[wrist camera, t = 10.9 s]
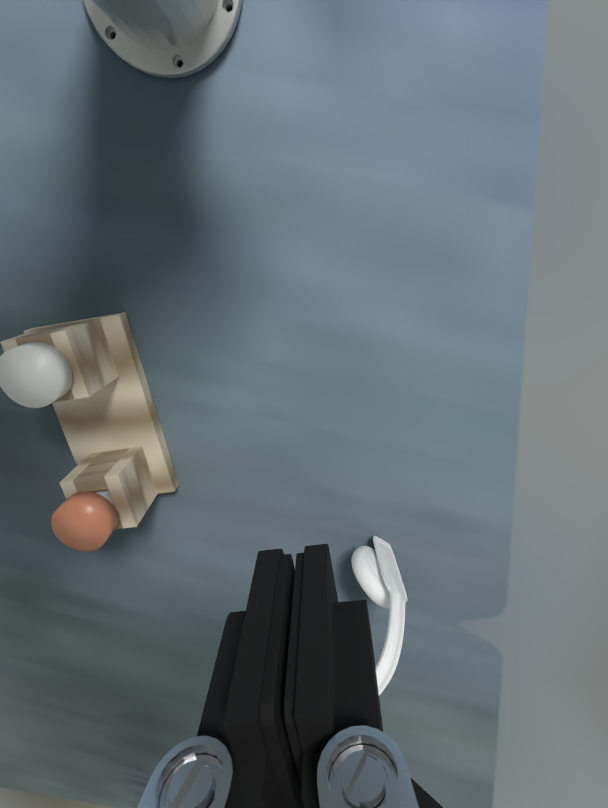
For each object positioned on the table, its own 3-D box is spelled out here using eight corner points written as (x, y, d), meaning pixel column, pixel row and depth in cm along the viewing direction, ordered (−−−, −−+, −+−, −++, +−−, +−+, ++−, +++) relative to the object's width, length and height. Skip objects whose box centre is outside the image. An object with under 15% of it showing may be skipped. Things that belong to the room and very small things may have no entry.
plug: (44, 332, 43) (-15, 352, 35) (94, 323, 42) (45, 342, 35) (63, 382, 45) (11, 411, 37) (111, 374, 44) (68, 403, 37)
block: (32, 327, 45) (-22, 345, 38) (125, 312, 44) (87, 326, 37) (97, 494, 52) (62, 535, 45) (178, 484, 51) (155, 524, 44)
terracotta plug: (87, 463, 47) (42, 507, 39) (133, 457, 46) (97, 500, 39) (103, 504, 48) (63, 554, 41) (148, 499, 48) (115, 547, 41)
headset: (368, 515, 51) (389, 650, 35) (408, 551, 53) (446, 696, 36) (254, 605, 57) (225, 758, 40) (293, 635, 59) (281, 794, 42)
